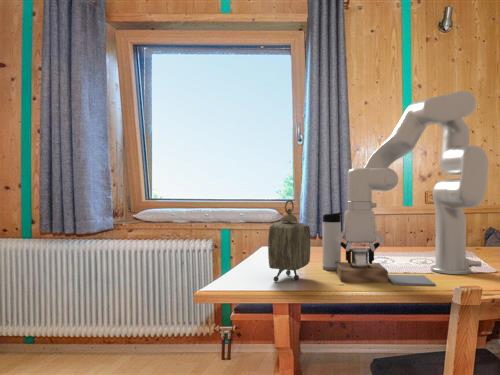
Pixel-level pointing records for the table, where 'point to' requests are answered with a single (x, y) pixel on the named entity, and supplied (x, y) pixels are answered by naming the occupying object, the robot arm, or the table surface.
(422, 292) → the table surface
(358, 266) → the end cap
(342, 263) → the brown wooden square slab
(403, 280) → the mat
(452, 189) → the robot arm
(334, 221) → the travel mug
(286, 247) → the tabletop clock
